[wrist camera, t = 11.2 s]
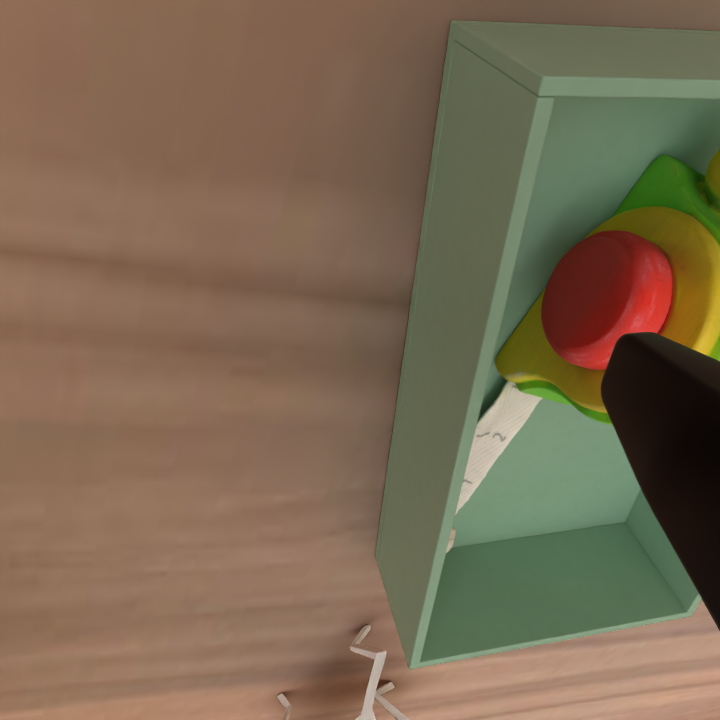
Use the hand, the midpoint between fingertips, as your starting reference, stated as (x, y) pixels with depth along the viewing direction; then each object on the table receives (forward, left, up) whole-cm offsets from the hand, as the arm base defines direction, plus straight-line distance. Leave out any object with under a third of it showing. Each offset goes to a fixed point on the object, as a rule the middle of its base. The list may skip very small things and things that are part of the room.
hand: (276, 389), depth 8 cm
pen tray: (-9, -12, -12) cm, 20 cm away
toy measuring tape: (-9, -11, -12) cm, 19 cm away
